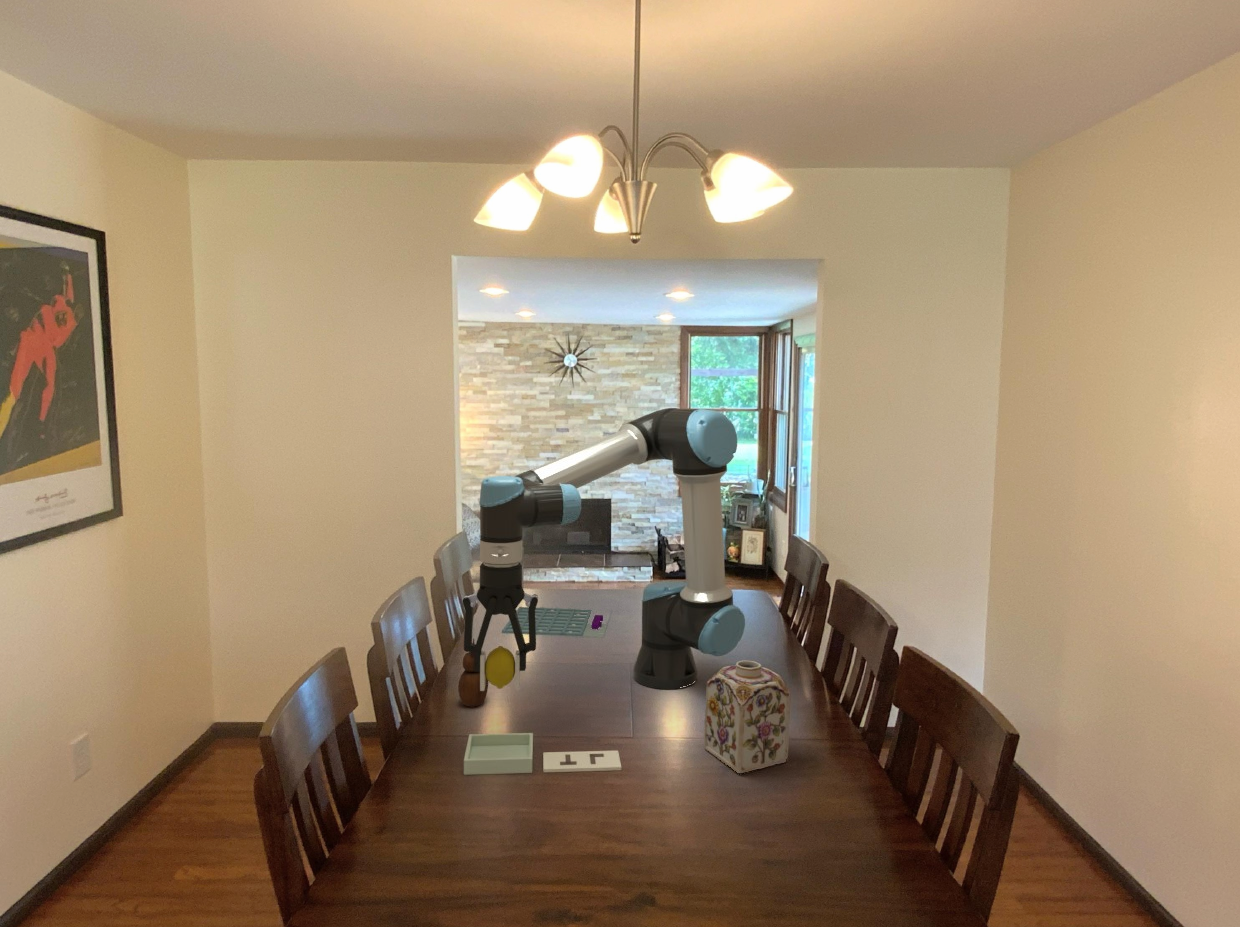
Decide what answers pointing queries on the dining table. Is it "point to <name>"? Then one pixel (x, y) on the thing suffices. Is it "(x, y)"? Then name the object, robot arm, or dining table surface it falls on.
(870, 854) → the dining table surface
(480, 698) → the wooden figurine
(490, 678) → the lemon
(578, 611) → the calendar
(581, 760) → the tile
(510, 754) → the dish
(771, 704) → the decorative jar
